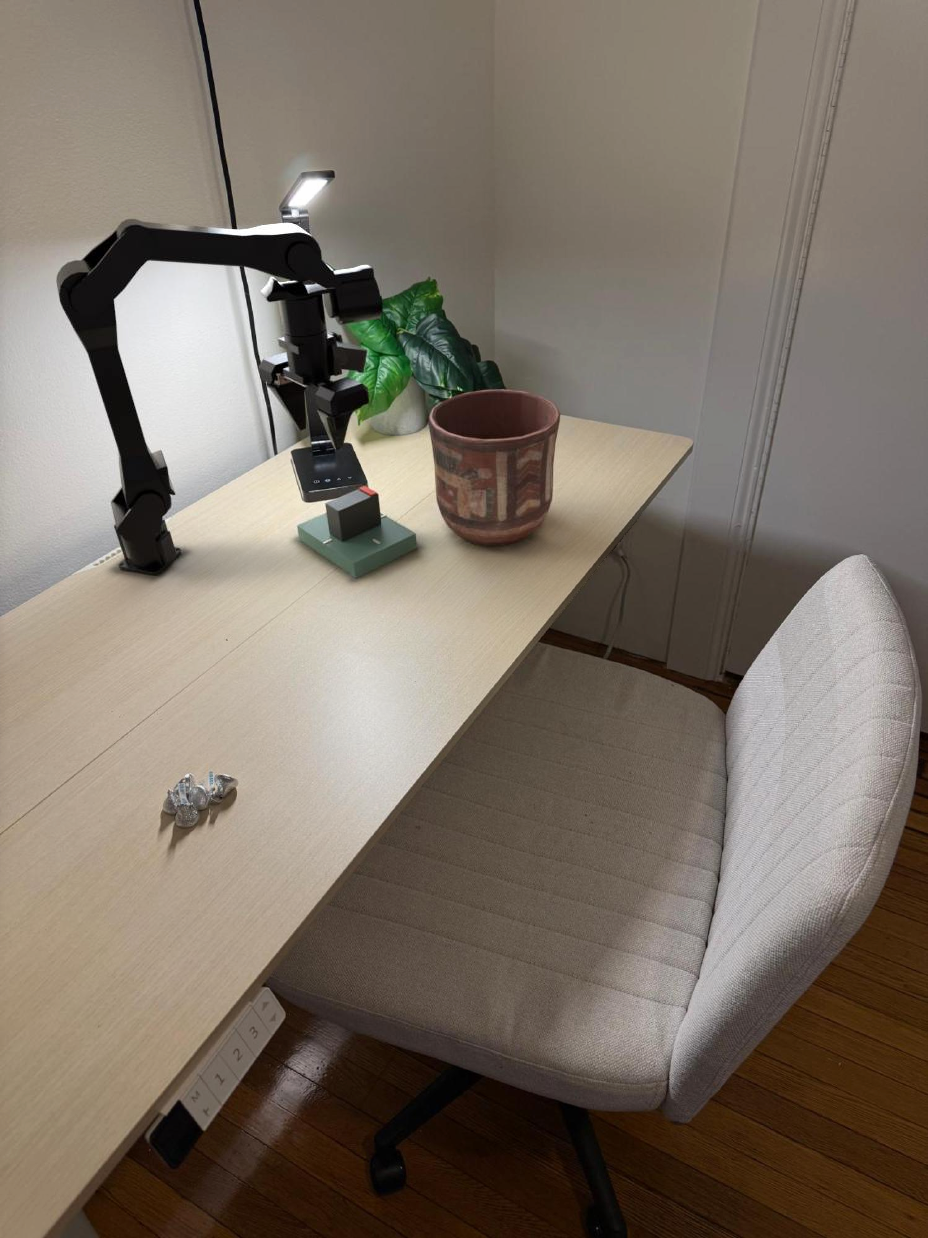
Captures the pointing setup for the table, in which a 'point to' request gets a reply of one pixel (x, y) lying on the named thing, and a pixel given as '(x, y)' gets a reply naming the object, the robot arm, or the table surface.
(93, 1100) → the table surface
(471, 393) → the pottery
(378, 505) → the block
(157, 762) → the table surface
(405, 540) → the green flat block
